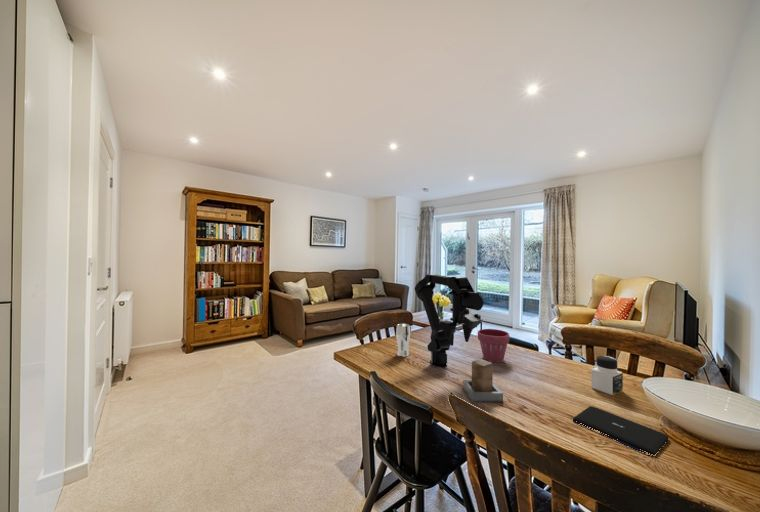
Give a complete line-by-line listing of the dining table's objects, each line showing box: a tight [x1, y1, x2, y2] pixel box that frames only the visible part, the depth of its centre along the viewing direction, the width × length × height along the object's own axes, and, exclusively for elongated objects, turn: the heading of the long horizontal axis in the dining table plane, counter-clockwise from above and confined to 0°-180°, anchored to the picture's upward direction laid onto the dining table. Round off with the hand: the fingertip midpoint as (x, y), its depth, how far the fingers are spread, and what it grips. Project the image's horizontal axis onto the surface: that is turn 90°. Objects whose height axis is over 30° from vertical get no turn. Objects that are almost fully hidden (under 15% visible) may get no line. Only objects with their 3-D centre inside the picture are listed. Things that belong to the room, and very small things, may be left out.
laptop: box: [572, 405, 669, 455], centre depth 81 cm, size 16×20×2 cm
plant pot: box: [477, 328, 510, 363], centre depth 137 cm, size 14×14×13 cm
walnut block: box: [471, 358, 494, 392], centre depth 101 cm, size 5×5×11 cm
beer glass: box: [395, 323, 411, 358], centre depth 142 cm, size 7×7×15 cm
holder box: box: [462, 379, 504, 403], centre depth 101 cm, size 10×10×3 cm
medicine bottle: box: [590, 355, 624, 396], centre depth 105 cm, size 7×7×12 cm
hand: (459, 343), depth 118 cm, fingers open, 9 cm apart
